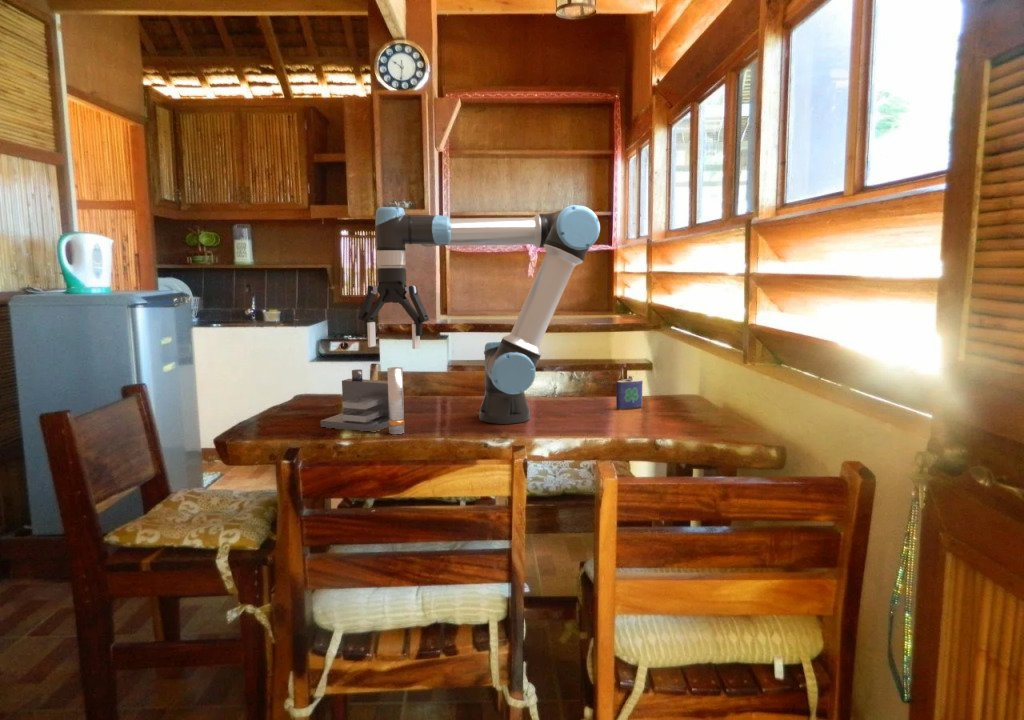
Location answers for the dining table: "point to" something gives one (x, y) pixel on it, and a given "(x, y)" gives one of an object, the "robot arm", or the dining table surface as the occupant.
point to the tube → (395, 400)
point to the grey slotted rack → (361, 405)
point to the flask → (629, 394)
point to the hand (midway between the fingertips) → (393, 347)
